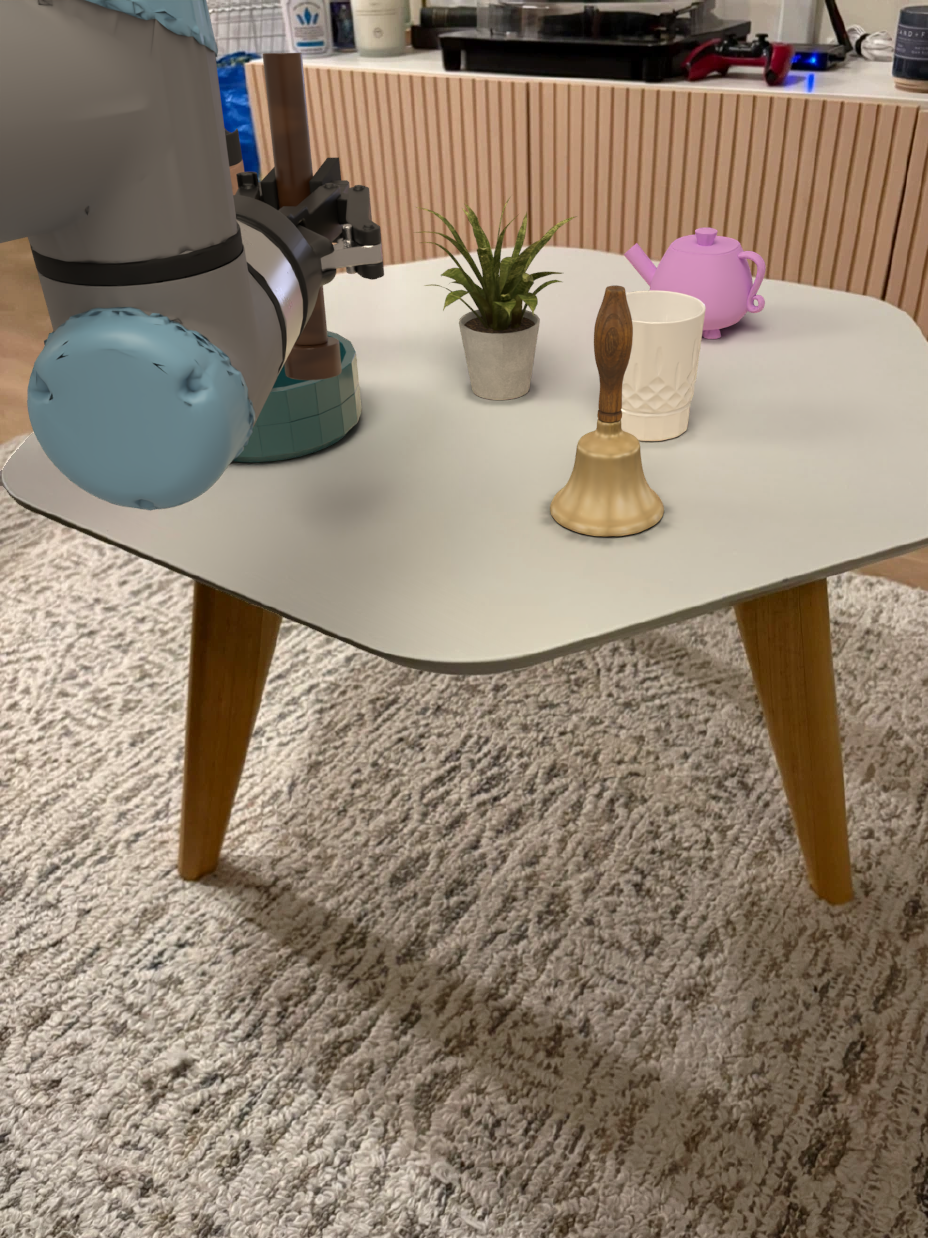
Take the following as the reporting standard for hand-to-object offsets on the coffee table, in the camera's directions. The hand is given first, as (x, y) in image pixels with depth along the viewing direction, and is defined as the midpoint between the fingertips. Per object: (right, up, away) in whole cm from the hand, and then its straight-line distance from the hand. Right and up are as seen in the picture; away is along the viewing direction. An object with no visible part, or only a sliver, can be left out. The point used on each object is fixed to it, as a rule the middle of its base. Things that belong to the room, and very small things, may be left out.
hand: (313, 180), depth 70 cm
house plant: (+11, -6, +29) cm, 31 cm away
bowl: (-8, -10, +23) cm, 27 cm away
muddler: (0, -12, +1) cm, 12 cm away
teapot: (+31, +4, +42) cm, 52 cm away
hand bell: (+20, -20, +10) cm, 30 cm away
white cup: (+24, -11, +22) cm, 34 cm away
